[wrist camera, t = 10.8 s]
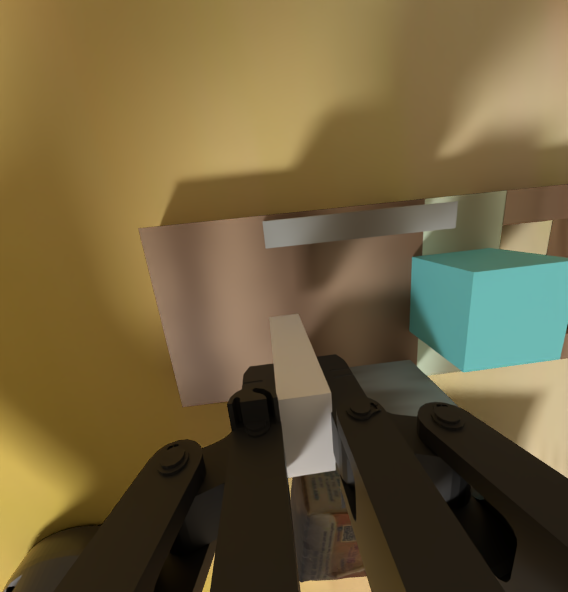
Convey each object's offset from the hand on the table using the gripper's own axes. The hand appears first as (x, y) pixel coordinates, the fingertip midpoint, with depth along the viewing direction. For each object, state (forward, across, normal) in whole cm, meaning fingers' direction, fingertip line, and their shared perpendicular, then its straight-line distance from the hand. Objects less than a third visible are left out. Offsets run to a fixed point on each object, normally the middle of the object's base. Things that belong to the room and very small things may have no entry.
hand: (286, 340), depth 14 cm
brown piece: (+6, +7, 0) cm, 9 cm away
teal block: (+3, +11, 0) cm, 11 cm away
